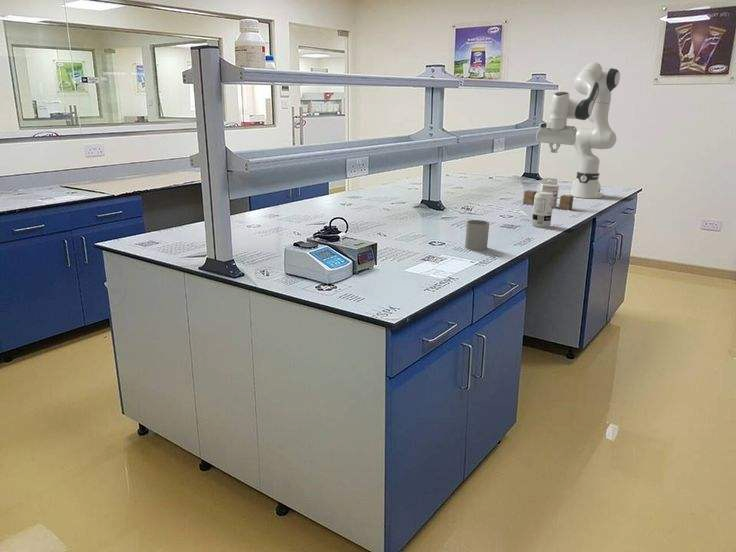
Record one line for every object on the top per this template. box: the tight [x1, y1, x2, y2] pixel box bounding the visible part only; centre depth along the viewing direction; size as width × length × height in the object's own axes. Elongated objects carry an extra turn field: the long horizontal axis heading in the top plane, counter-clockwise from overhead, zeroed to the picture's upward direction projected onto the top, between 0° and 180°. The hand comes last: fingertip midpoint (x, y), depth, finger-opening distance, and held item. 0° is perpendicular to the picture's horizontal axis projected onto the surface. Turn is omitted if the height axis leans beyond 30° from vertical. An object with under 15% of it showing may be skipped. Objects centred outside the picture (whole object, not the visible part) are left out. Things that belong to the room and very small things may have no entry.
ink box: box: [539, 177, 559, 208], centre depth 303 cm, size 9×5×15 cm, turn 84°
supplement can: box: [531, 191, 554, 229], centre depth 257 cm, size 8×8×15 cm
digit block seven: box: [522, 189, 538, 206], centre depth 310 cm, size 5×5×7 cm
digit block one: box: [558, 194, 575, 211], centre depth 298 cm, size 5×5×7 cm
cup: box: [464, 219, 490, 252], centre depth 217 cm, size 8×8×10 cm
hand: (553, 152), depth 296 cm, fingers closed
